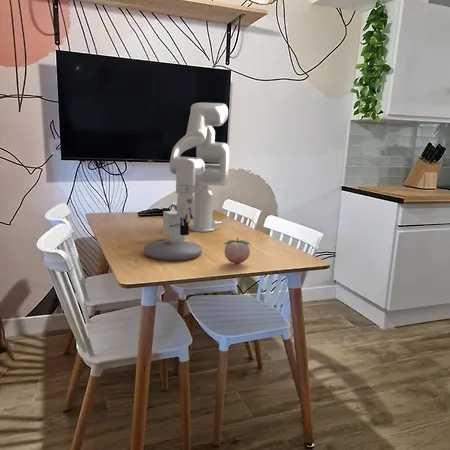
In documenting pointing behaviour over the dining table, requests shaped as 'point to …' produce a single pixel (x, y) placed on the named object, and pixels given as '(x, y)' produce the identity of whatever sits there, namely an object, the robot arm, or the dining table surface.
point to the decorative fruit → (237, 251)
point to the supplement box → (172, 225)
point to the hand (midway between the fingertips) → (184, 234)
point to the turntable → (172, 249)
